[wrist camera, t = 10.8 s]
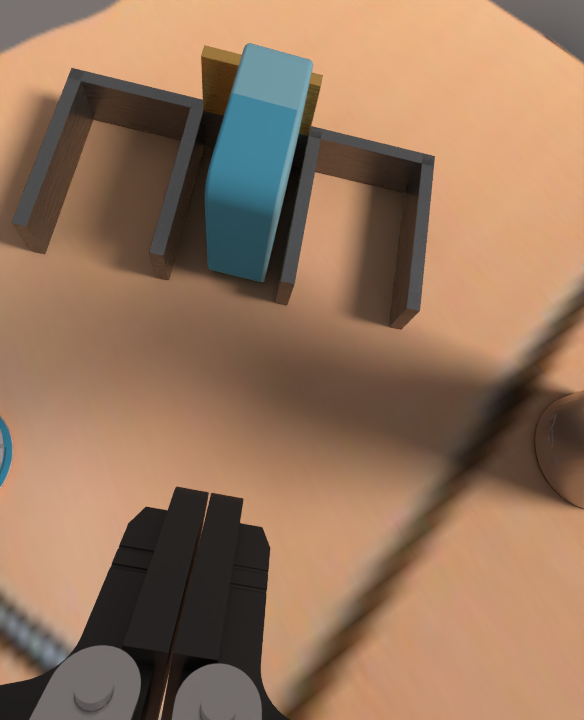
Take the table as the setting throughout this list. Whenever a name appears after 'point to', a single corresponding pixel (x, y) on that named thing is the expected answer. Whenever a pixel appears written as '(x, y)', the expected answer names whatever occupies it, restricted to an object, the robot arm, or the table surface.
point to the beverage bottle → (5, 451)
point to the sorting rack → (201, 128)
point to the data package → (254, 160)
